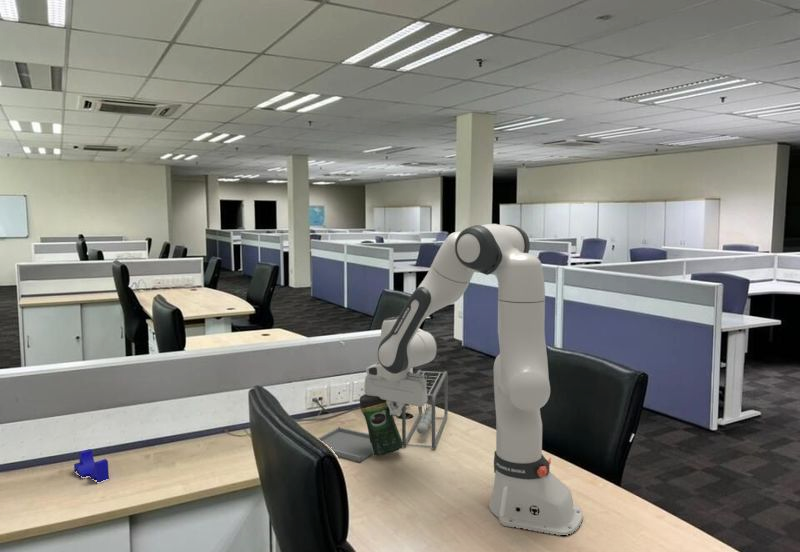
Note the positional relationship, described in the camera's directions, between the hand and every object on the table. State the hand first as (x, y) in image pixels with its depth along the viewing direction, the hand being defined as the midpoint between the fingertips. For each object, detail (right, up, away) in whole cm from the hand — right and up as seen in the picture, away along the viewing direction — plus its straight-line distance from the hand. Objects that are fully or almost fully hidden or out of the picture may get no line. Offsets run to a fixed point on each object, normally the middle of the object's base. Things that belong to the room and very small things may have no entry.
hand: (395, 415), depth 171 cm
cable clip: (-86, -16, -9) cm, 88 cm away
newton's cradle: (+10, -11, +22) cm, 27 cm away
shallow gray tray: (-15, -12, +10) cm, 22 cm away
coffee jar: (-2, -12, +3) cm, 12 cm away
